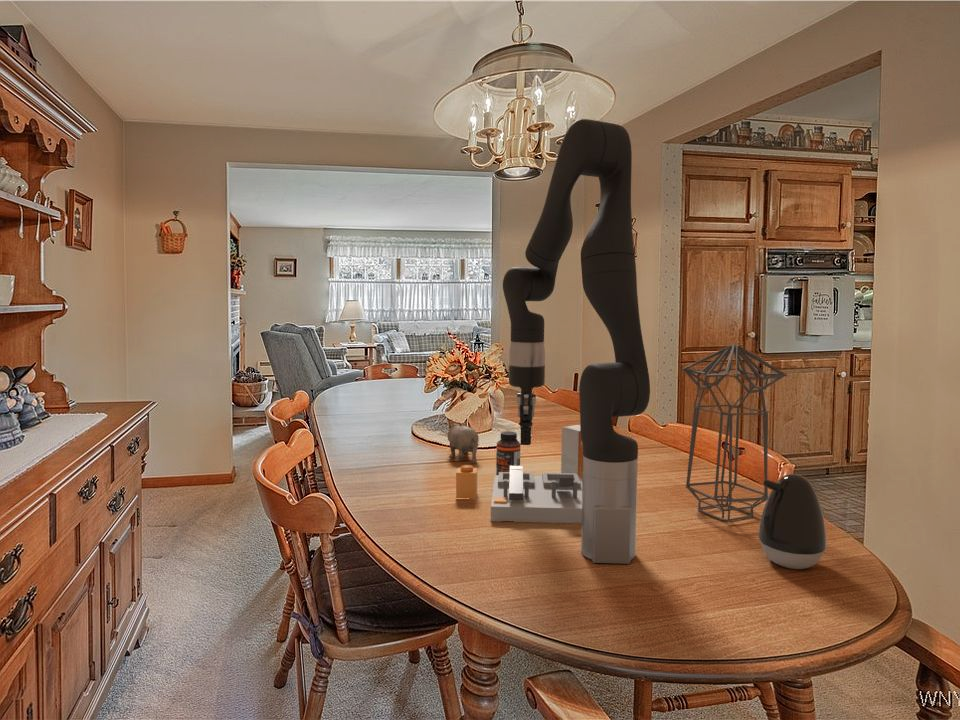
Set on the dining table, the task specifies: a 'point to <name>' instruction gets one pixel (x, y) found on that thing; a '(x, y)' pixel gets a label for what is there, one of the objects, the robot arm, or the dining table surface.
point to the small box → (572, 450)
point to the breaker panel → (538, 499)
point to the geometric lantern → (730, 423)
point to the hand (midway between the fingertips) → (525, 444)
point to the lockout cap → (466, 482)
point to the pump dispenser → (792, 523)
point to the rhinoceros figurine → (463, 441)
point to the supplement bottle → (507, 452)
